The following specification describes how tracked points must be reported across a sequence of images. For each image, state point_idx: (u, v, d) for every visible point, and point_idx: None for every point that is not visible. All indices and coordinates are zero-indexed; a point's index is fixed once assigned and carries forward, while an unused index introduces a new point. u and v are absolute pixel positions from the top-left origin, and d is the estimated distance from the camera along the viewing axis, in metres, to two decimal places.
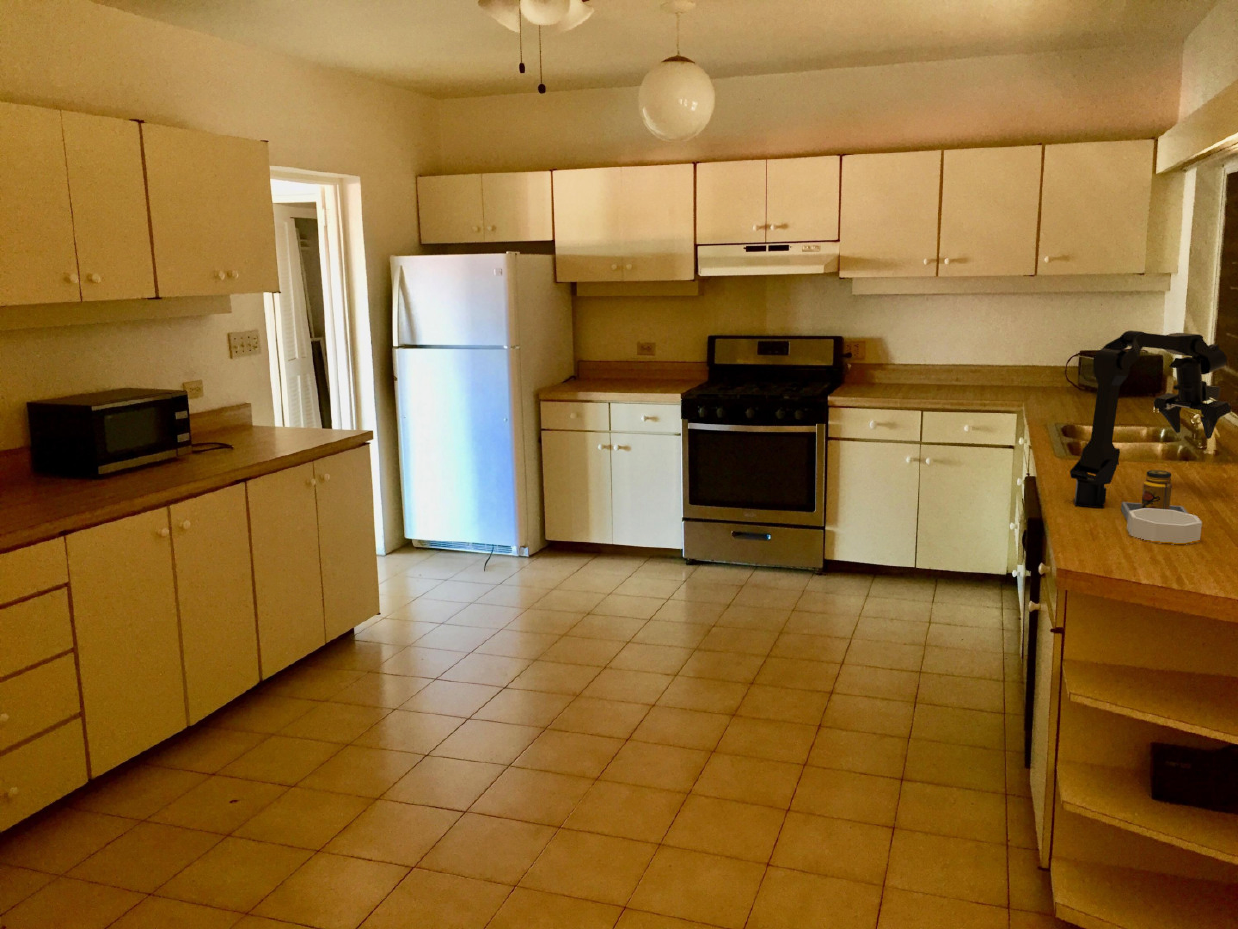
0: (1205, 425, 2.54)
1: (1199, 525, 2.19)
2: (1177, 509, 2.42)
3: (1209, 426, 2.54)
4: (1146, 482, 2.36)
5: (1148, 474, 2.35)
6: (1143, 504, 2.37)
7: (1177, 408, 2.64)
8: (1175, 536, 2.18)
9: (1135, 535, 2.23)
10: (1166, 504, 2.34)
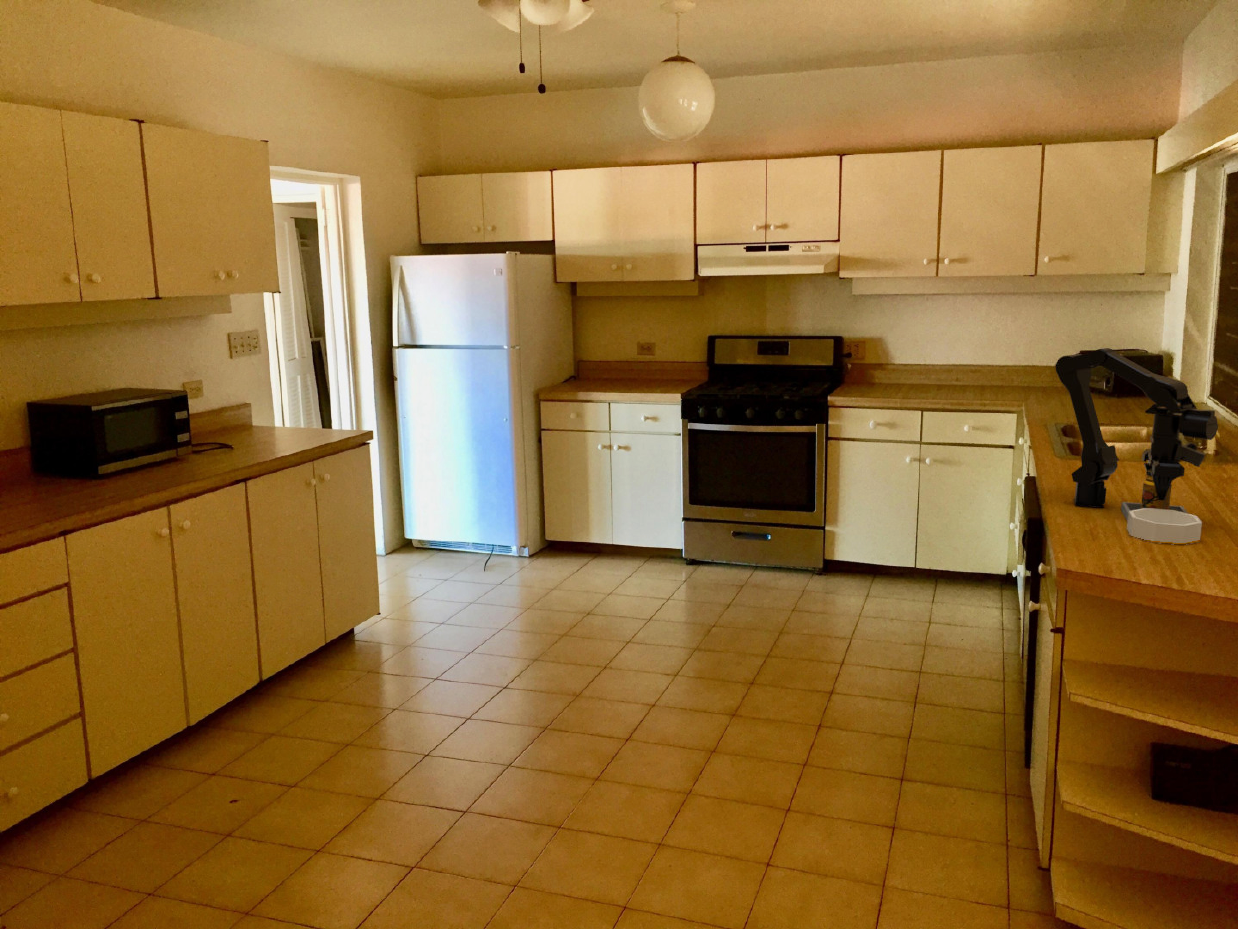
0: (1153, 481, 2.33)
1: (1199, 525, 2.19)
2: (1177, 509, 2.42)
3: (1158, 484, 2.32)
4: (1146, 481, 2.37)
5: (1148, 473, 2.36)
6: (1143, 503, 2.38)
7: None
8: (1175, 536, 2.18)
9: (1135, 535, 2.23)
10: (1166, 503, 2.35)
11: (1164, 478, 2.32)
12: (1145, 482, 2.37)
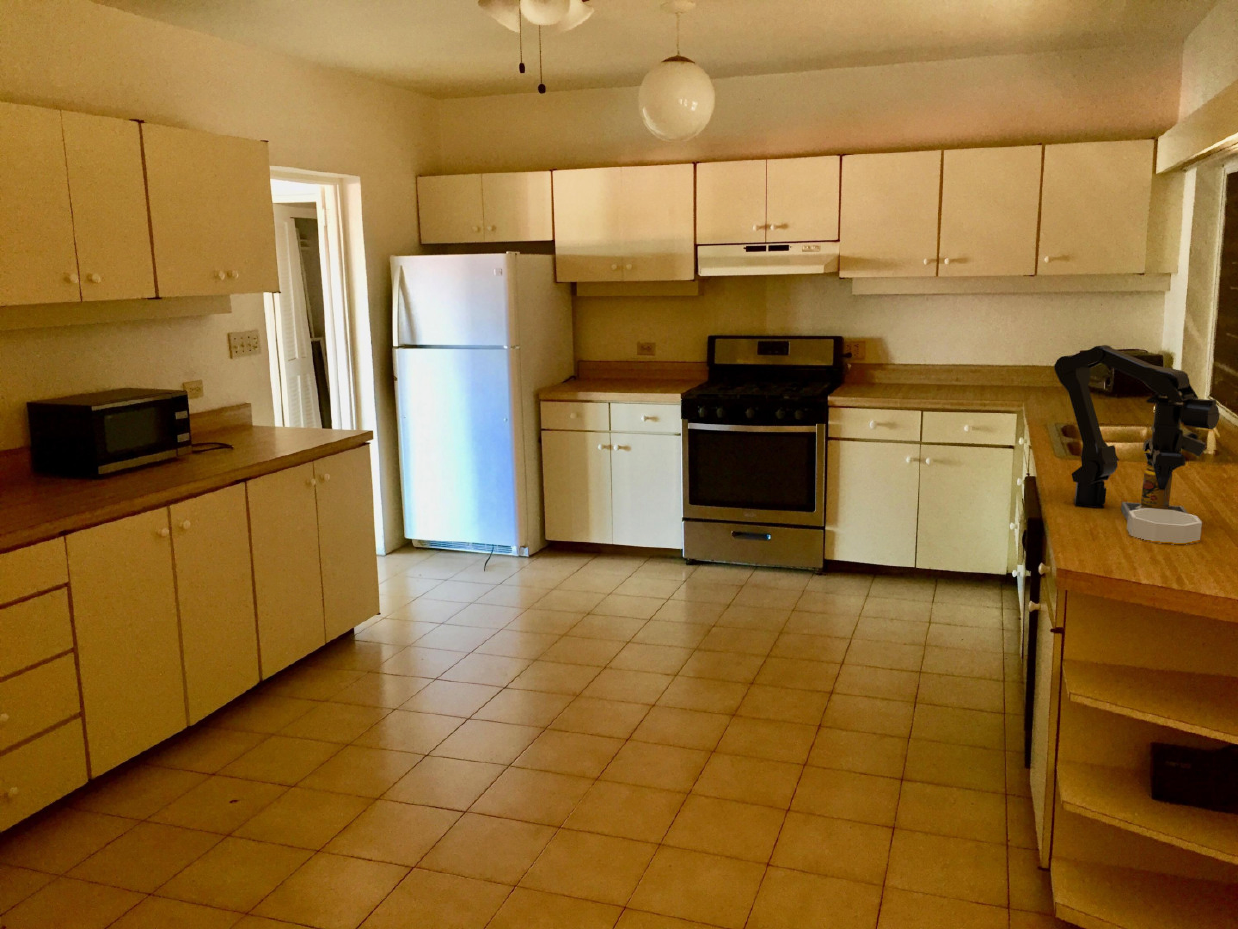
0: (1154, 471, 2.32)
1: (1199, 525, 2.19)
2: (1177, 509, 2.42)
3: (1159, 474, 2.32)
4: (1147, 471, 2.36)
5: (1149, 463, 2.35)
6: (1144, 493, 2.37)
7: None
8: (1175, 536, 2.18)
9: (1135, 535, 2.23)
10: (1167, 493, 2.34)
11: (1165, 468, 2.31)
12: (1146, 472, 2.36)
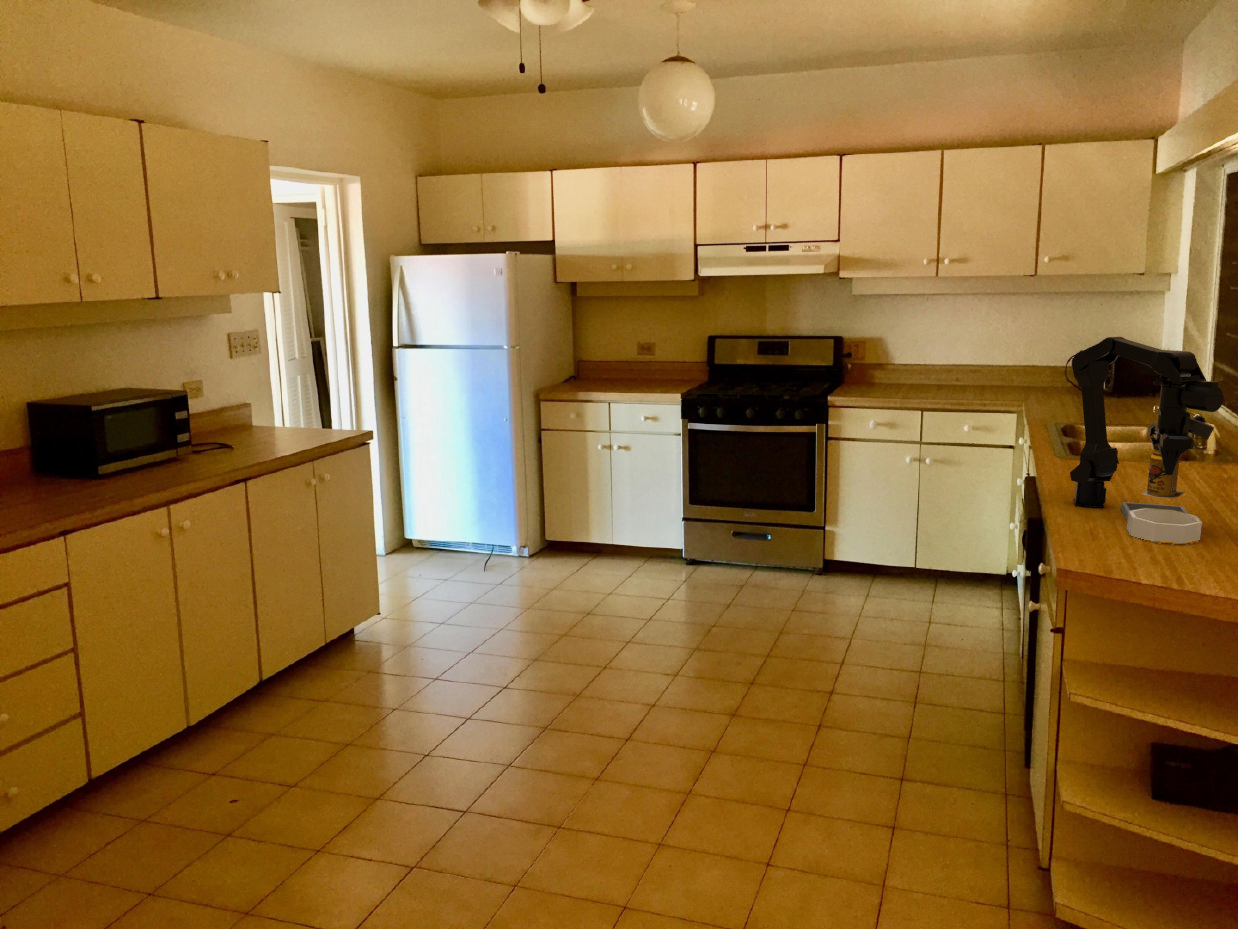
0: (1161, 455, 2.25)
1: (1199, 525, 2.19)
2: (1177, 509, 2.42)
3: (1166, 458, 2.25)
4: (1153, 456, 2.29)
5: (1155, 447, 2.28)
6: (1150, 479, 2.30)
7: None
8: (1175, 536, 2.18)
9: (1135, 535, 2.23)
10: (1174, 478, 2.27)
11: (1172, 452, 2.24)
12: (1152, 456, 2.29)
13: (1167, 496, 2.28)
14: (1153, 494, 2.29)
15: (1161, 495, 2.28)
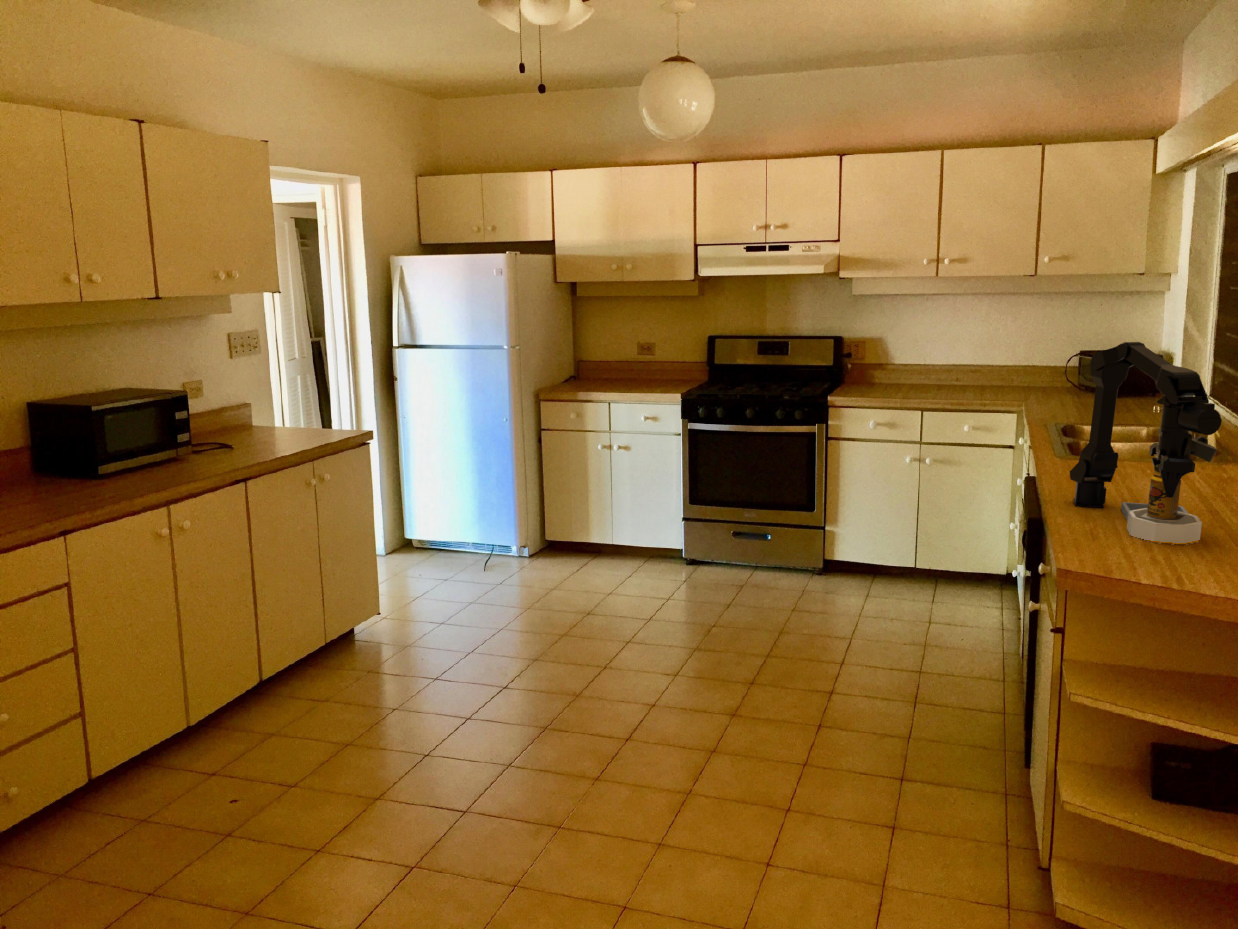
0: None
1: (1199, 525, 2.19)
2: None
3: (1167, 481, 2.18)
4: (1154, 477, 2.22)
5: (1156, 469, 2.22)
6: (1150, 500, 2.23)
7: None
8: (1175, 536, 2.18)
9: (1135, 535, 2.23)
10: (1175, 501, 2.21)
11: (1173, 474, 2.18)
12: (1153, 478, 2.23)
13: (1167, 519, 2.21)
14: (1153, 516, 2.23)
15: (1161, 518, 2.22)
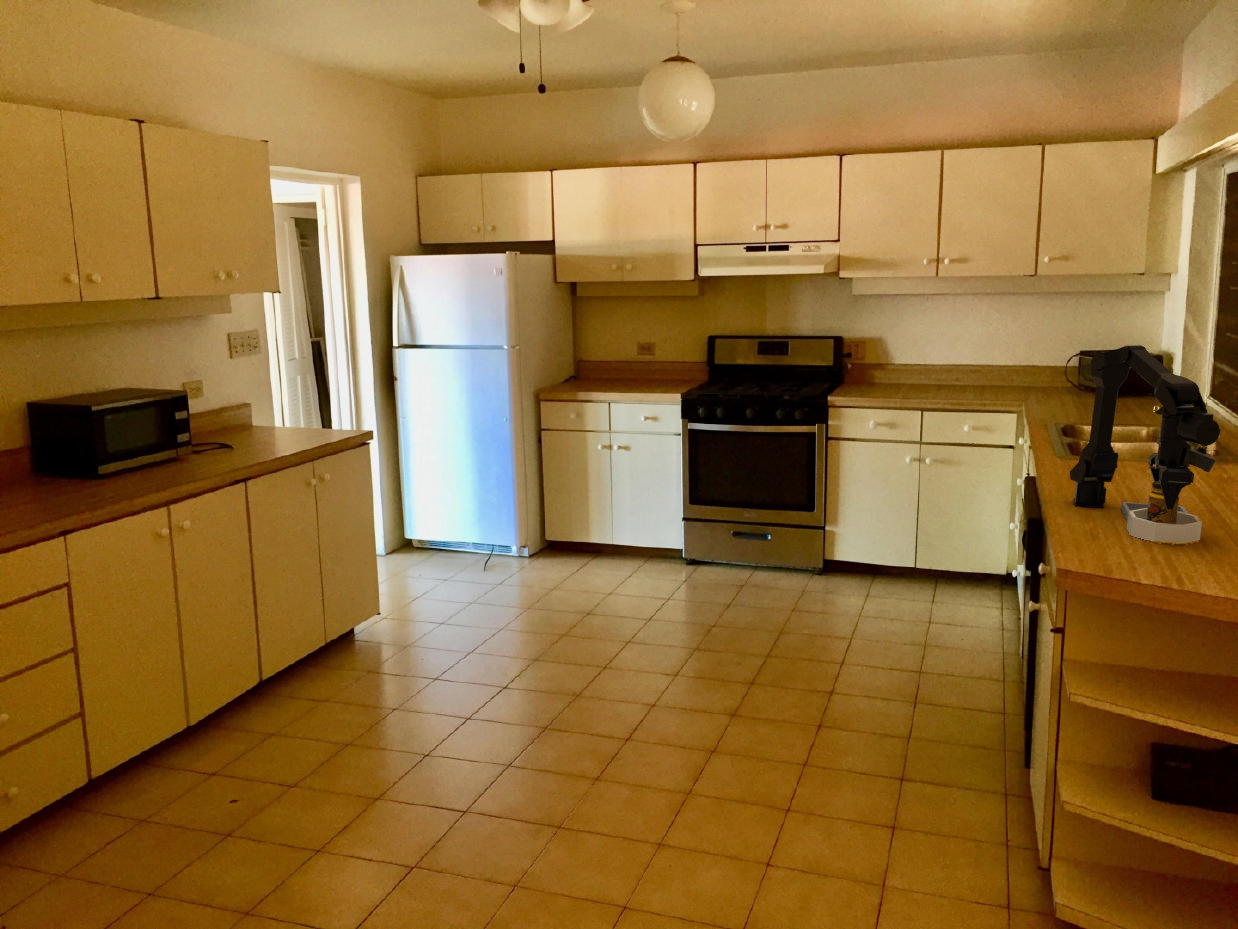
0: (1162, 489, 2.18)
1: (1199, 525, 2.19)
2: None
3: (1167, 492, 2.17)
4: (1152, 494, 2.23)
5: (1154, 485, 2.22)
6: (1149, 517, 2.24)
7: None
8: (1175, 536, 2.18)
9: (1135, 535, 2.23)
10: (1173, 517, 2.21)
11: (1173, 486, 2.17)
12: (1151, 495, 2.23)
13: None
14: None
15: None
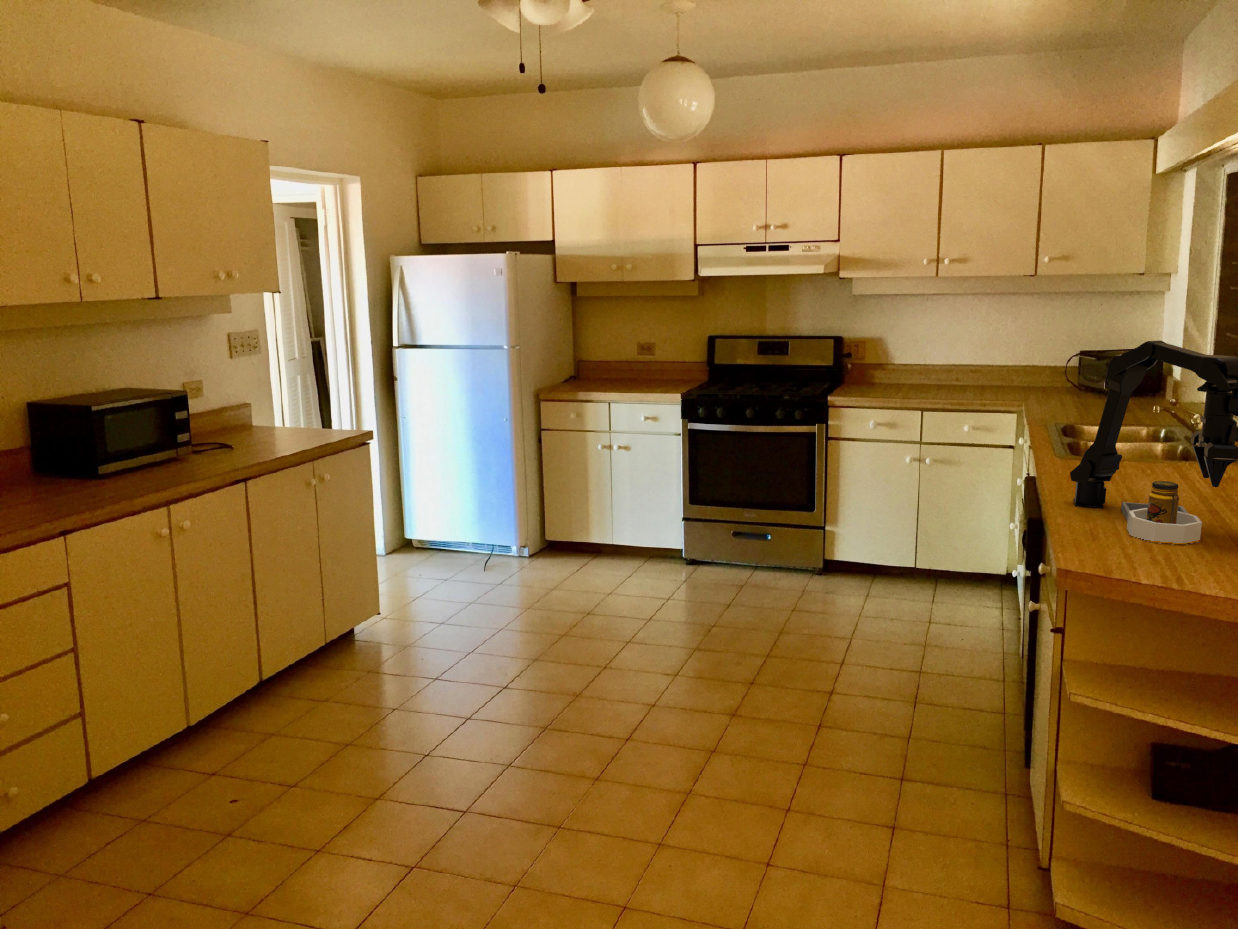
0: (1207, 467, 2.14)
1: (1199, 525, 2.19)
2: None
3: (1212, 470, 2.13)
4: (1152, 494, 2.23)
5: (1154, 485, 2.22)
6: (1149, 517, 2.24)
7: None
8: (1175, 536, 2.18)
9: (1135, 535, 2.23)
10: (1173, 517, 2.21)
11: (1219, 463, 2.13)
12: (1151, 495, 2.23)
13: None
14: None
15: None
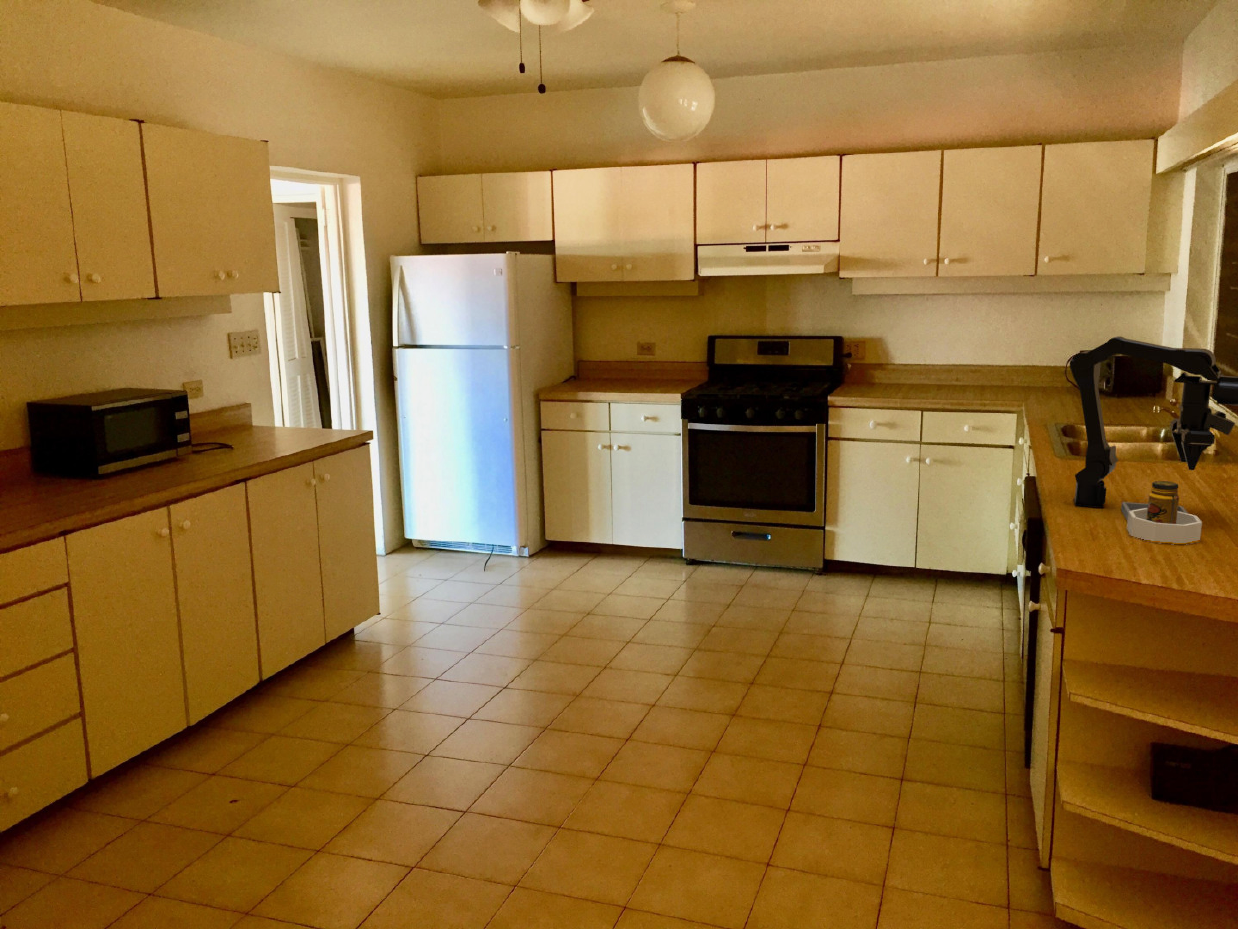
0: (1184, 451, 2.31)
1: (1199, 525, 2.19)
2: None
3: (1189, 454, 2.30)
4: (1152, 494, 2.23)
5: (1154, 485, 2.22)
6: (1149, 517, 2.24)
7: None
8: (1175, 536, 2.18)
9: (1135, 535, 2.23)
10: (1173, 517, 2.21)
11: (1195, 447, 2.30)
12: (1151, 495, 2.23)
13: None
14: None
15: None
